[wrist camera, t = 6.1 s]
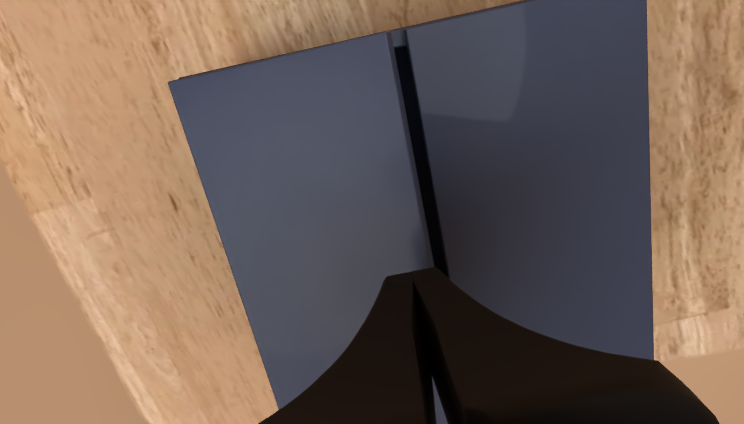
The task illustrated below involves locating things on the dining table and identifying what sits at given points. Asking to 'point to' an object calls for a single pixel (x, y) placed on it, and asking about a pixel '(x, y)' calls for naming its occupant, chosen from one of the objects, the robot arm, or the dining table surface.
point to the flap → (309, 194)
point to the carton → (538, 163)
